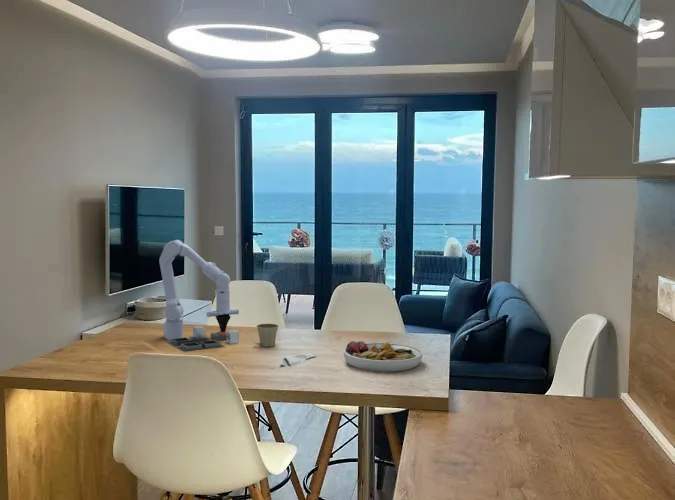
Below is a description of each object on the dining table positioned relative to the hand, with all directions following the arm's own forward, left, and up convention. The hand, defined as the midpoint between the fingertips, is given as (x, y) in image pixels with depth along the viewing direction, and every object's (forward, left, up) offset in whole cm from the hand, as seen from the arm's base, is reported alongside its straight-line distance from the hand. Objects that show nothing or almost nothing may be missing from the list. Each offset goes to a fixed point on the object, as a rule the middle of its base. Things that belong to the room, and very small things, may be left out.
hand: (222, 331), depth 277 cm
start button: (0, 0, -2) cm, 2 cm away
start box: (0, 0, -4) cm, 4 cm away
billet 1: (0, -11, -3) cm, 11 cm away
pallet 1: (0, -15, -4) cm, 15 cm away
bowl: (+69, +35, -4) cm, 77 cm away
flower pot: (+19, +12, -4) cm, 23 cm away
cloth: (+47, +9, -5) cm, 48 cm away
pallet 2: (+11, -15, -4) cm, 19 cm away
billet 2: (+10, 0, -4) cm, 11 cm away
